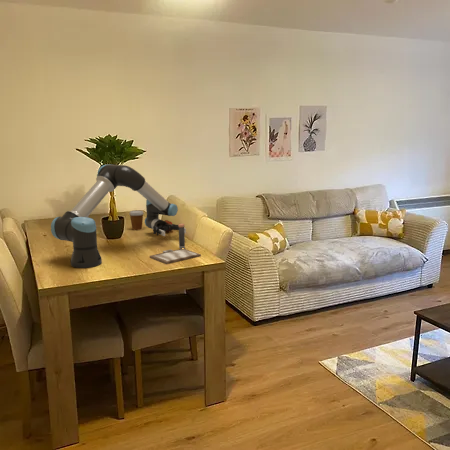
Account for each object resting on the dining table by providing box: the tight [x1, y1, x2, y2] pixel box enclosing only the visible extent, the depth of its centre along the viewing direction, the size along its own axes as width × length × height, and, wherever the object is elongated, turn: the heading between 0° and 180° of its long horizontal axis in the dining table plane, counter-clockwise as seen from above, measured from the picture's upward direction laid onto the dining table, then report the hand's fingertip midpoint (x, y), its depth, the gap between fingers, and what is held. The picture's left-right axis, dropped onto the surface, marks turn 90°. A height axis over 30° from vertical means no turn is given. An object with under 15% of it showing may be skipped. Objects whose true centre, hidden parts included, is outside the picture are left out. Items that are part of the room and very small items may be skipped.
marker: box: [177, 223, 186, 249], centre depth 267 cm, size 3×3×14 cm
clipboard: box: [149, 248, 202, 265], centre depth 251 cm, size 22×16×2 cm
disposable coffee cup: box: [129, 209, 144, 231], centre depth 315 cm, size 10×10×12 cm
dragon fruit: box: [164, 219, 173, 233], centre depth 308 cm, size 8×8×12 cm
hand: (175, 232), depth 274 cm, fingers open, 13 cm apart
